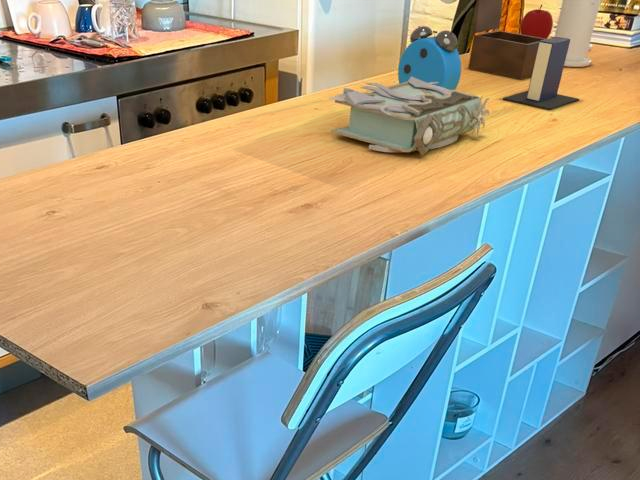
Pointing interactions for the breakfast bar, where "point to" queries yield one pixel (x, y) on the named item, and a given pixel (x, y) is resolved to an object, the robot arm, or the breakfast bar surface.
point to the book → (548, 68)
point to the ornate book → (410, 115)
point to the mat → (546, 104)
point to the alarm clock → (431, 58)
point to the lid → (487, 15)
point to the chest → (504, 54)
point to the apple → (537, 24)
